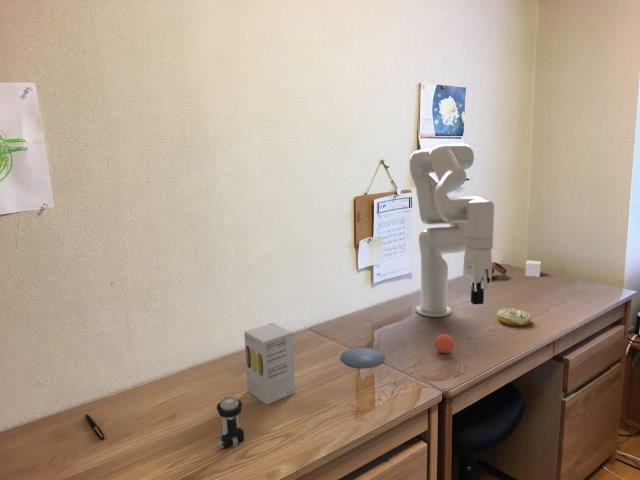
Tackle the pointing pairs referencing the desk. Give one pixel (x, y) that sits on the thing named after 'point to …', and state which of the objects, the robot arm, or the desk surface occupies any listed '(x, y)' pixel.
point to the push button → (230, 422)
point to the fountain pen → (94, 426)
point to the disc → (362, 357)
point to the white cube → (533, 268)
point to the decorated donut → (514, 317)
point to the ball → (444, 343)
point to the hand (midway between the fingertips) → (477, 303)
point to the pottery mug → (498, 269)
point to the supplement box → (270, 362)
